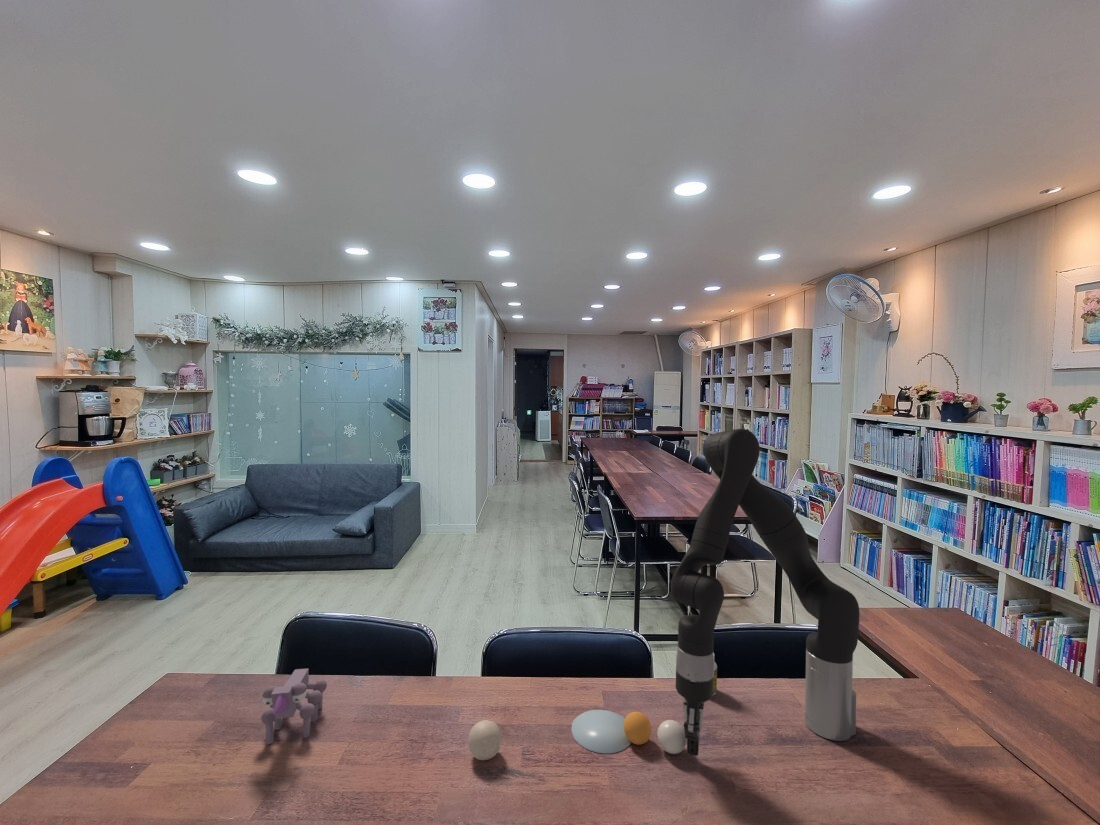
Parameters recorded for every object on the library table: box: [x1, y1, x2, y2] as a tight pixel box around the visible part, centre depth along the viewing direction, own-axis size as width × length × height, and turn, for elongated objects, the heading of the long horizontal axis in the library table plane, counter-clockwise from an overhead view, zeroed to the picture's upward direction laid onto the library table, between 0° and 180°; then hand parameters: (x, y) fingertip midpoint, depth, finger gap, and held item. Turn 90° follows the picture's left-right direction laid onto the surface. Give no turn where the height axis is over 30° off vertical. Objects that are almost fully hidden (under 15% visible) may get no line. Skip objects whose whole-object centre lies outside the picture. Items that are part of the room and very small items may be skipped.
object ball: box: [624, 711, 652, 746], centre depth 103 cm, size 6×6×6 cm
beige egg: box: [467, 719, 502, 761], centre depth 98 cm, size 7×7×7 cm
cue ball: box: [656, 719, 687, 755], centre depth 100 cm, size 6×6×6 cm
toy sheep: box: [260, 668, 328, 745], centre depth 103 cm, size 20×11×14 cm, turn 11°
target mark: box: [571, 709, 633, 755], centre depth 106 cm, size 14×14×1 cm
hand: (692, 752), depth 97 cm, fingers closed
